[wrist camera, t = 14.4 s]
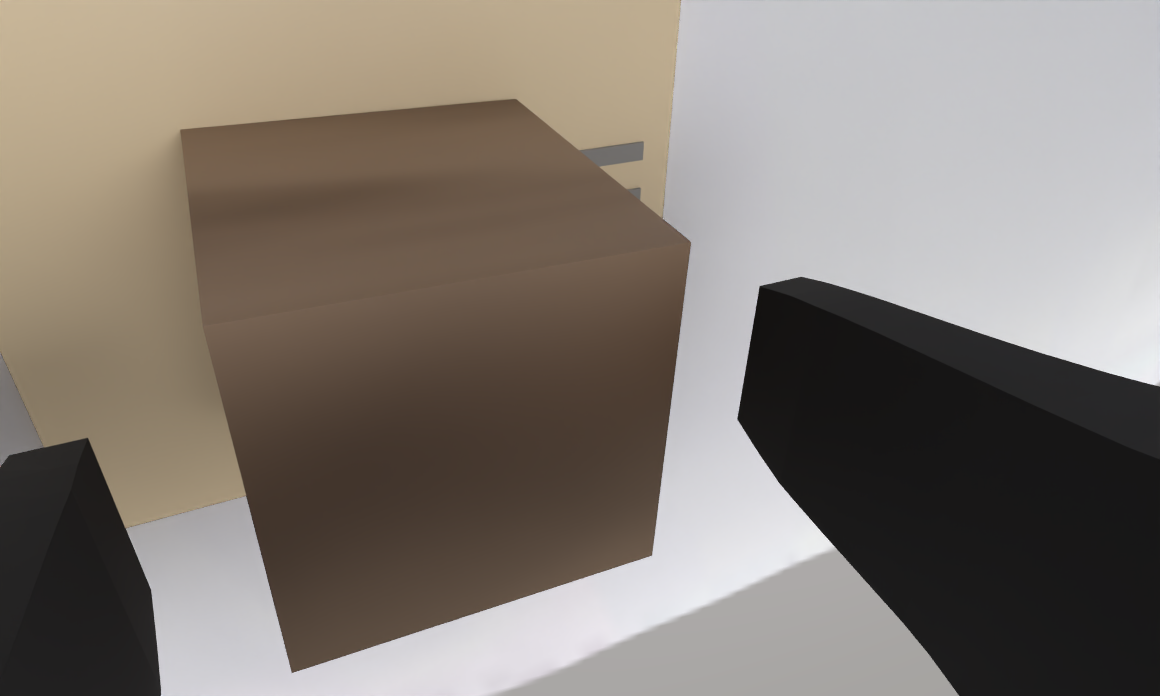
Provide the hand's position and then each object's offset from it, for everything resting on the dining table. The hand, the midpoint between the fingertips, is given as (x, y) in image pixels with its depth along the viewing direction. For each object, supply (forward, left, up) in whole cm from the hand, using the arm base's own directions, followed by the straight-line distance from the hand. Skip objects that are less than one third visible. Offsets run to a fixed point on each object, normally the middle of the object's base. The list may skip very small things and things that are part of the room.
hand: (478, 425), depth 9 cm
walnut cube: (0, 0, -5) cm, 5 cm away
